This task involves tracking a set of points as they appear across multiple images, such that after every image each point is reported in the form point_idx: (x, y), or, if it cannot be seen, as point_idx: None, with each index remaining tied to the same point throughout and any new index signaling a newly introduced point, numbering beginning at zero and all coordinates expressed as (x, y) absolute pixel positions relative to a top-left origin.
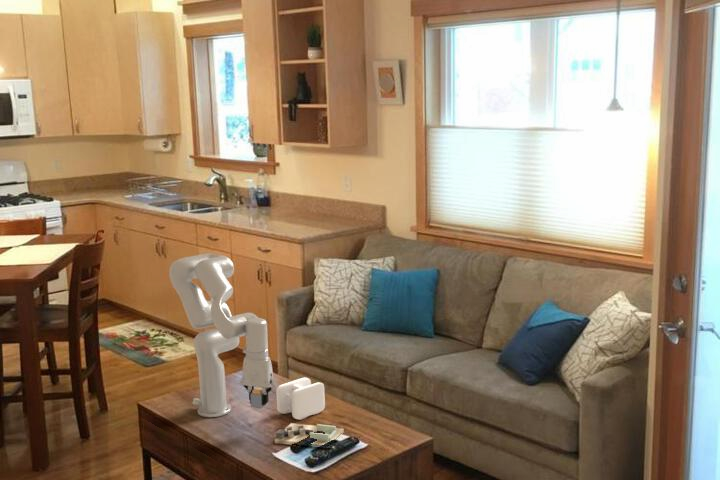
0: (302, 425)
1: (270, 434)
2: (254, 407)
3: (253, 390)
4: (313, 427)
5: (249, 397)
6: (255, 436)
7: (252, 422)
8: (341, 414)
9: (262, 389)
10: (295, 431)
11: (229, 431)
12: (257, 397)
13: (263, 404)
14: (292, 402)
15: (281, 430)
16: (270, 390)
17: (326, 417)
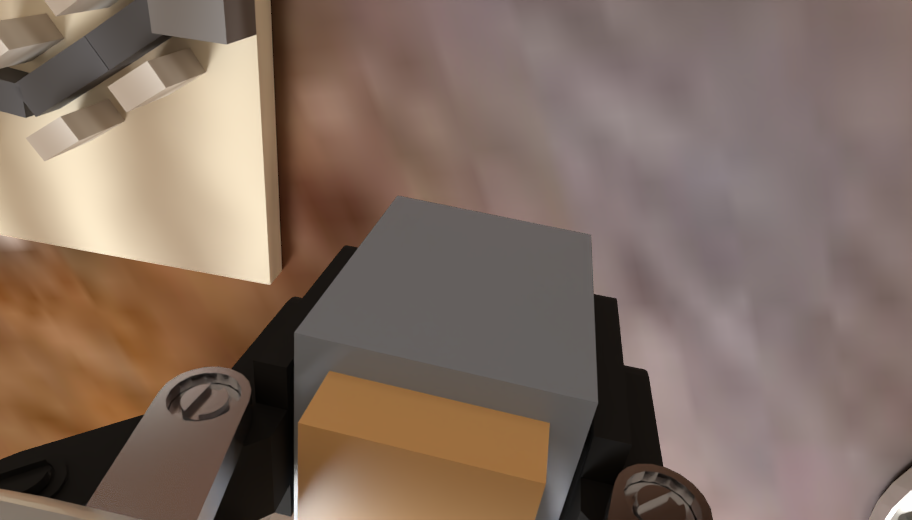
0: (33, 138)
1: (392, 102)
2: (523, 223)
3: (517, 503)
4: (53, 213)
5: (644, 400)
6: (528, 39)
7: (634, 331)
8: (56, 438)
9: (210, 490)
10: (85, 56)
11: (848, 138)
12: (408, 313)
13: (348, 250)
14: None
15: (188, 12)
16: (19, 452)
17: (117, 403)
